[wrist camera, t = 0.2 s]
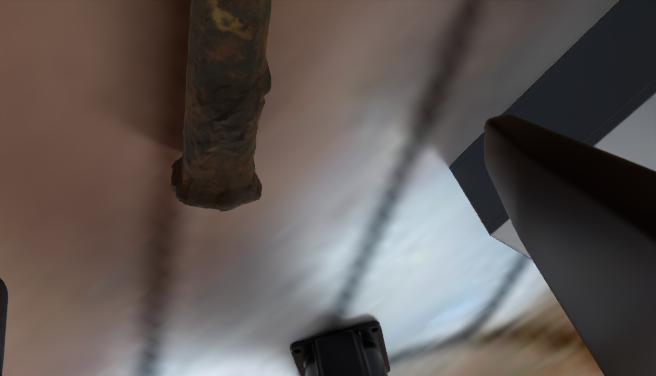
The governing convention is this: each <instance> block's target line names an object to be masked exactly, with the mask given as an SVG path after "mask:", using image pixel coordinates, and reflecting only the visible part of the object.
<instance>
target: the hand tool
mask: <svg viewBox="0 0 656 376" xmlns="http://www.w3.org/2000/svg"><path fill="white" fill-rule="evenodd" d="M270 12H271V0H191V5H190V26H189V36H188V63H187V69H186V93H185V115H184V129H183V136H182V138H183V144H184V153H183V155H182V157H181V158H180V159H178V160H177V161H176V162H175V163H174V164H173V165H172V169H173V172H172V176H171V187H172V190H173V192H174V193H175V195H176V198H177V199H179V201H181V202H183V203H184V204H186V205H189V206H195V207H201V208H210V209H218V210H220V211H228V210H232V209H234V208H236V207H238V206H241V205H243V204H247V203H250V202H252V201H256V200H259V198H260V197H261V191H262V184H261V182H260V180H259V178H258V176H257V174H256V173H255V165H254V159H253V157H254V153H255V149H256V133H257V129H258V122H259V118H260V115H261V112H262V109H263V106H264V104H265V100H264V95H266V94H267V93H268V92H269V91H270V89H271V75H270V71H269V67H268V63H267V59H266V55H265V52H266V42H267V34H268V27H269V20H270Z"/></svg>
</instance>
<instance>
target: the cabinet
mask: <svg viewBox="0 0 656 376" xmlns="http://www.w3.org/2000/svg"><path fill="white" fill-rule="evenodd" d="M505 114H512V115H515V116H518V117H520V118H523V119H525V120H528V121H530V122H533V123H535V124H538V125H540V126H543V127H545V128H548V129H550V130H553V131H555V132H558V133H561V134H563V135H566V136H568V137H571V138H573V139H576V140H578V141H581V142H583V143H586V144H588V145H591V146H593V147H596V148H598V149H601V150H604V151H606V152H609V153H611V154H614V155H616V156H619V157H621V158H624V159H626V160H629V161H631V162H634V163H636V164H639V165H641V166H644V167H647V168H649V169H652V170H654V171H656V0H620V1H619V2H618V3H617V4H616V5H615V6H614V7H613V8H612V9H611V10H610V11H609V12H608V13H607V14H606V15H605V16H604V17H603V18H602V19H601V20H600V21H599V22H598V23H597V24H596V25H595V26H594V27H593V28H591V29H590V30H589V31H588V32H587V33H586V34H585V35H584V36H583V37H582V38H581V39H580V40H579V41H578V42H577V43H576V44H575V45H574V46H573V47H572V48H571V49H570V50H569V51H568V52H567V53H566V54H565V55H564V56H563V57H562V58H561V59H560V60H559V61H558V62H557V63H556V64H554V65H553V66H552V67H551V68H550V69H549V70H548V71H547V72H546V73H545V74H544V75H543V76H542V77H541V78H540V79H539V80H538V81H537V82H536V83H535V84H534V85H533V86H532V87H531V88H530V89H529V90H528V91H527V92H526V93H525V94H524V95H523V96H522V97H521V98H520V99H519V100H517V101H516V102H515V103H514V104H513V105H512V106H511V107H510V108H509V109H508V110H507V111H506V112H505V113H504V114H503V115H505ZM484 134H485V133H484ZM484 134H483V135H482V136H480V137H479V138H478V139H477V140H476V141H475V142H474V143H473V144H472V145H471V146H470V147H469V148H468V149H467V150H466V151H465V152H464V153H463V154H462V155H461V156H460V157H459V158H458V159H457V160H456V161H455V162H454V163H453V164H452V165H451V166H450V167H449V169H450V170H451V172H452V173H453V175H454V177H455V178H456V180H457V182H458V183H459V185H460V187H461V188H462V190H463V192H464V193H465V195H466V197H467V198H468V200H469V201H470V203H471V205H472V206H473V208H474V210H475V211H476V213H477V215H478V216H479V218H480V220H481V221H482V223H483V225H484V226H485V228H486V230H487V231H488V233H489V235H490V236H492V237H494V238H496V239H497V240H499V241H501V242H502V243H504V244H506V245H508V246H509V247H511V248H513V249H515V250H516V251H518V252H520V253H521V254H523V255H525V256H527V257H528V258H530V259H532V258H531V257H530V255H529V254H528V252H527V250H526V249H525V247H524V245H523V244H522V242H521V240H520V239H519V237H518V235H517V233H516V231H515V229H514V227H513V225H512V222H511V220H510V218H509V216H508V214H507V212H506V209H505V207H504V205H503V203H502V201H501V199H500V196H499V194H498V192H497V190H496V188H495V186H494V183H493V181H492V179H491V177H490V175H489V173H488V171H487V168H486V165H485V161H484Z"/></svg>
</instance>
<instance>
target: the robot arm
mask: <svg viewBox="0 0 656 376" xmlns="http://www.w3.org/2000/svg"><path fill="white" fill-rule="evenodd" d="M484 161H485V165H486V168H487V171H488V173H489V175H490V177H491V179H492V181H493V183H494V186H495V188H496V190H497V192H498V194H499V196H500V199H501V201H502V203H503V205H504V207H505V209H506V212H507V214H508V216H509V218H510V220H511V222H512V225H513V227H514V229H515V231H516V233H517V235H518V237H519V239H520V240H521V242H522V244H523V245H524V247H525V249H526V250H527V252H528V254H529V255H530V257H531V258H532V260H533V262H534V263H535V265H536V266H537V268H538V270H539V271H540V273H541V275H542V276H543V278H544V279H545V281H546V283H547V284H548V286H549V287H550V289H551V291H552V292H553V294H554V295H555V297H556V299H557V300H558V302H559V303H560V305H561V307H562V308H563V310H564V311H565V313H566V315H567V316H568V318H569V319H570V321H571V323H572V324H573V326H574V327H575V329H576V331H577V332H578V334H579V335H580V337H581V339H582V340H583V342H584V343H585V345H586V347H587V348H588V350H589V351H590V353H591V355H592V356H593V358H594V359H595V361H596V363H597V364H598V366H599V367H600V369H601V371H602V372H603V374H604V375H605V376H656V171H654V170H652V169H649V168H647V167H644V166H641V165H639V164H636V163H634V162H631V161H629V160H626V159H624V158H621V157H619V156H616V155H614V154H611V153H609V152H606V151H604V150H601V149H598V148H596V147H593V146H591V145H588V144H586V143H583V142H581V141H578V140H576V139H573V138H571V137H568V136H566V135H563V134H561V133H558V132H555V131H553V130H550V129H548V128H545V127H543V126H540V125H538V124H535V123H533V122H530V121H528V120H525V119H523V118H520V117H518V116H515V115H512V114H505V115H501V116H497V117H493V118H490V119H488V120H487V121H486V124H485V134H484ZM7 305H8V291H7V288H6V285H5V283H4V282H3V281H2V280H1V279H0V376H2V369H3V360H4V346H5V332H6V319H7ZM290 350H291V354H292V357H293V359H294V361H295V363H296V366H297V368H298V370H299V373H300V375H301V376H388V374H387V373H388V372H389V371H390V366H389V362H388V357H387V352H386V348H385V343H384V339H383V334H382V329H381V326H380V323H379V322H378V321H371V322H367V323H363V324H360V325H356V326H352V327H349V328H345V329H341V330H338V331H334V332H331V333H327V334H323V335H320V336H316V337H312V338H309V339H305V340H301V341H298V342H294V343H292V344H291V345H290Z"/></svg>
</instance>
